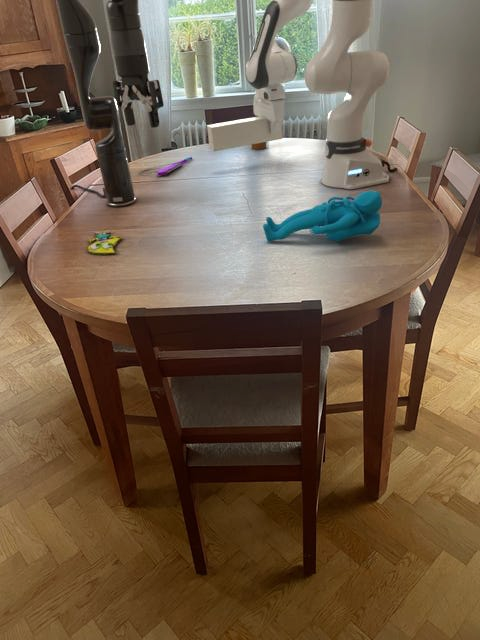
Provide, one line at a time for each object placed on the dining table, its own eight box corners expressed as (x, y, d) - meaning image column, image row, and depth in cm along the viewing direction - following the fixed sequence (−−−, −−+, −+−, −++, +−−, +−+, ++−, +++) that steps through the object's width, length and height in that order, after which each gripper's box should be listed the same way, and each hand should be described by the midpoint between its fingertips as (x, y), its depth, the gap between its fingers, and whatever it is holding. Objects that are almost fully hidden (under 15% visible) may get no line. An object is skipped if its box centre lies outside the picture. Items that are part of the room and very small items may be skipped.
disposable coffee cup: (269, 149, 209) (268, 120, 203) (248, 151, 210) (246, 121, 203) (269, 144, 217) (267, 115, 210) (248, 145, 217) (246, 117, 211)
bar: (276, 136, 188) (275, 113, 183) (282, 138, 184) (281, 115, 180) (209, 148, 180) (206, 125, 176) (214, 151, 177) (211, 127, 172)
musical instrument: (136, 181, 187) (185, 170, 185) (134, 175, 186) (183, 165, 184) (148, 168, 208) (192, 158, 206) (147, 163, 207) (191, 153, 205)
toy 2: (268, 204, 133) (379, 177, 123) (278, 239, 138) (385, 216, 128) (257, 229, 119) (380, 200, 109) (269, 266, 124) (388, 242, 114)
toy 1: (125, 229, 140) (115, 251, 128) (126, 232, 141) (116, 254, 128) (91, 232, 140) (77, 253, 128) (92, 234, 141) (78, 256, 128)
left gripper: (97, 55, 113) (113, 127, 122) (139, 53, 105) (152, 131, 114) (121, 51, 118) (134, 121, 127) (163, 49, 110) (174, 124, 119)
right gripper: (248, 89, 183) (250, 127, 191) (271, 96, 167) (272, 137, 174) (263, 87, 185) (265, 125, 192) (287, 93, 169) (288, 134, 176)
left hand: (143, 126), depth 120 cm, fingers open, 8 cm apart
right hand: (268, 131), depth 183 cm, fingers closed on bar, 5 cm apart
